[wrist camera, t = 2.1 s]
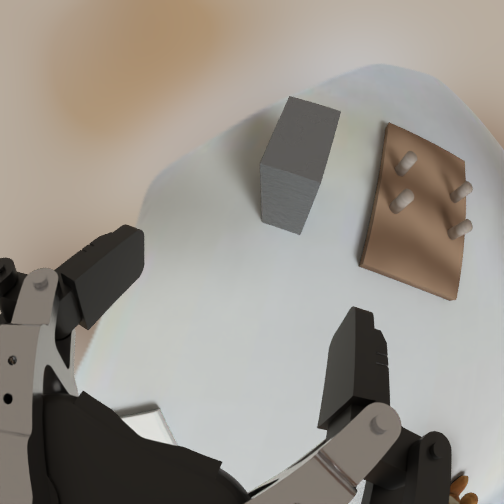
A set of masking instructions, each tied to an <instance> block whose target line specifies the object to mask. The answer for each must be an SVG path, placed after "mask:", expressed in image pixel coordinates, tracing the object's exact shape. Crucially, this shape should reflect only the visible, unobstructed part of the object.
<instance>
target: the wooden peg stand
mask: <svg viewBox="0 0 504 504" xmlns="http://www.w3.org/2000/svg"><path fill="white" fill-rule="evenodd" d="M472 190H473V188H472V185H471V184H470V183H469V182H468V181H466V178H465V161H463V160H462V159H460V158H458V157H457V156H455V155H453V154H451V153H450V152H448V151H446V150H444V149H442V148H441V147H439V146H437V145H435V144H433V143H431V142H429V141H427V140H425V139H423V138H421V137H419V136H417V135H415V134H413V133H411V132H409V131H407V130H405V129H403V128H400V127H398V126H396V125H394V124H391V123H388V125H387V127H386V129H385V137H384V145H383V152H382V159H381V165H380V171H379V177H378V183H377V189H376V194H375V199H374V204H373V209H372V214H371V219H370V223H369V228H368V232H367V236H366V240H365V245H364V249H363V253H362V256H361V260H360V264H359V267H362V268H365V269H368V270H370V271H373V272H376V273H378V274H381V275H384V276H386V277H389V278H392V279H395V280H397V281H400V282H402V283H405V284H408V285H410V286H413V287H416V288H418V289H421V290H423V291H426V292H429V293H431V294H434V295H436V296H439V297H442V298H444V299H447V300H449V301H451V300H456V298H457V293H458V287H459V281H460V274H461V267H462V258H463V248H464V236H465V234H466V233H468V232H470V231H471V230H472V223H471V221H470V220H468V219H466V220H465V218H466V196H467V195H468V194H469V193H471V192H472Z"/></svg>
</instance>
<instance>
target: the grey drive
mask: <svg viewBox="0 0 504 504" xmlns="http://www.w3.org/2000/svg"><path fill="white" fill-rule="evenodd" d="M340 113H341V111H338V110H335V109H332V108H329V107H325V106H322V105H319V104H316V103H312V102H309V101H305V100H302V99H298V98H294V97H291V96H289V98H288V101H287V103H286V105H285V107H284V110H283V112H282V114H281V116H280V118H279V121H278V123H277V125H276V128H275V130H274V132H273V134H272V137H271V139H270V141H269V144H268V146H267V148H266V150H265V153H264V155H263V157H262V160H261V162H260V180H261V207H262V222H263V223H266V224H269V225H272V226H275V227H278V228H281V229H284V230H287V231H290V232H293V233H296V234H298V235H300V234H301V232H302V229H303V227H304V224H305V222H306V219H307V217H308V214H309V212H310V209H311V207H312V204H313V202H314V199H315V196H316V194H317V191H318V189H319V186H320V184H321V180H322V177H323V174H324V170H325V167H326V163H327V160H328V157H329V153H330V149H331V146H332V142H333V139H334V135H335V131H336V128H337V124H338V120H339V117H340Z"/></svg>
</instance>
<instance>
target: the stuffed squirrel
mask: <svg viewBox="0 0 504 504" xmlns="http://www.w3.org/2000/svg"><path fill="white" fill-rule="evenodd" d="M467 483H468V476H460V477H459V478H458V479H457V480H456V481H454V482H453V483H452V484H451V485H450V496H449V504H477V502H478V497H477V495H476V494H474V493H467V494H465V495H464V496H463V497H462V498H461V500H460V499H459V495H460V493H461V492H462V491H463V490H464V488H465V487H466V485H467Z"/></svg>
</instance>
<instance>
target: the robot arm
mask: <svg viewBox="0 0 504 504" xmlns="http://www.w3.org/2000/svg"><path fill="white" fill-rule="evenodd" d="M143 268H144V233H143V231H142V230H140V229H137V228H134V227H132V226H129V225H123V226H121V227H120V228H118V229H117V230H116V231H114V232H113V233H112V232H111V233H108V234H105V235H102V236H100V237H98V238H97V239H95V240H94V241H93V242H91V243H90V245H87V246H86V247H84V248H83V249H82V251H81V250H80V251H79V252H77V253H76V254H75V255H74V256H72V257H71V258H70V259H68V260H67V261H66V262H65V263H63V264H62V265H61V266H60V267H58V268H57V269H55V270H52V269H50V268H40V269H37V270H34V271H32V272H31V273H30V274H28V275H27V274H24V273H20V272H17V271H16V268H15V265H14V262H13V261H12V260H11V259H10V258H0V310H1V314H0V504H348V503H349V502H350V501H351V500H352V499H353V498H354V496H355V495H356V493H357V489H356V487H357V485H358V484H359V483H360V482H361V481H362V480H363V479H364V480H366V484H365V489H364V494H363V498H362V502H361V504H449V496H450V483H451V446H450V443H449V441H448V439H447V438H446V437H445V436H444V435H443V434H442V433H440V432H436V431H433V432H429V433H428V434H426V435H424V436H423V437H421V436H419V435H417V434H415V433H413V432H411V431H409V430H407V429H405V428H403V427H402V426H401V421H400V418H399V416H398V414H397V412H396V411H395V410H394V409H393V408H392V407H390V389H389V368H388V357H387V355H388V354H387V343H386V341H385V339H384V336H383V334H382V332H381V330H377V329H374V317H373V313H372V312H369V311H366V310H363V309H360V308H357V307H354V306H353V307H352V308H351V309H350V310H349V312H348V313H347V315H346V317H345V318H344V320H343V322H342V323H341V325H340V326H339V328H338V330H337V331H336V333H335V334H334V336H333V338H332V341H331V344H330V347H329V353H328V361H327V369H326V376H325V384H324V390H323V397H322V403H321V409H320V415H319V421H318V426H317V428H319V429H324V430H327V436H326V439H325V440H323V441H322V442H321V443H320V444H318V445H317V446H316V447H315V448H313V449H312V450H311V451H309V452H308V453H307V454H306V455H304V456H303V457H302V458H300V459H299V460H298V461H296V462H295V463H294V464H292V465H291V466H289V467H288V468H287V469H285V470H284V471H282V472H281V473H279V474H278V475H276V476H274V477H273V478H271V479H269V480H268V481H266V482H264V483H263V484H261V485H260V486H258V487H256V488H255V489H253V490H251V491H250V492H248V493H247V492H246V490H245V489H244V488H243V487H242V485H241V484H240V483H239V482H238V481H237V480H236V479H235V478H233V477H232V476H231V475H230V474H228V473H227V472H225V471H224V470H222V469H221V468H220V466H221V464H222V462H221V461H218V460H215V459H213V458H210V457H207V456H205V455H202V454H199V453H197V452H194V451H192V450H190V449H187V448H185V447H181V446H176V445H171V444H167V443H162V442H158V441H154V440H150V439H146V438H143V437H141V436H140V435H138V434H137V433H136V432H135V431H134V430H133V429H132V428H130V427H129V426H128V425H127V424H126V423H125V422H124V421H123V420H122V419H121V418H120V417H119V416H118V415H117V414H116V413H115V412H114V411H113V410H112V409H110V408H109V407H107V406H105V405H104V404H102V403H101V402H99V401H98V400H96V399H95V398H93V397H92V396H90V395H89V394H87V393H86V392H84V391H82V393H81V394H80V395H79V396H78V390H77V385H76V382H75V378H74V351H75V329H74V328H75V327H76V326H77V325H78V324H79V325H81V326H82V327H84V328H85V329H87V330H89V329H90V328H91V327H92V326H93V325H94V324H95V323H96V321H97V320H98V319H99V318H100V317H101V316H102V315H103V314H104V313H105V312H106V311H107V310H108V309H109V308H110V307H111V306H112V304H113V303H114V302H115V301H116V300H117V299H118V298H119V297H120V296H121V295H122V294H123V293H124V292H125V291H126V290H127V289H128V288H129V287H130V286H131V285H132V284H133V283H134V282H135V281H136V280H137V279H138V278H139V277H140V275H141V273H142V271H143Z"/></svg>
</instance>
